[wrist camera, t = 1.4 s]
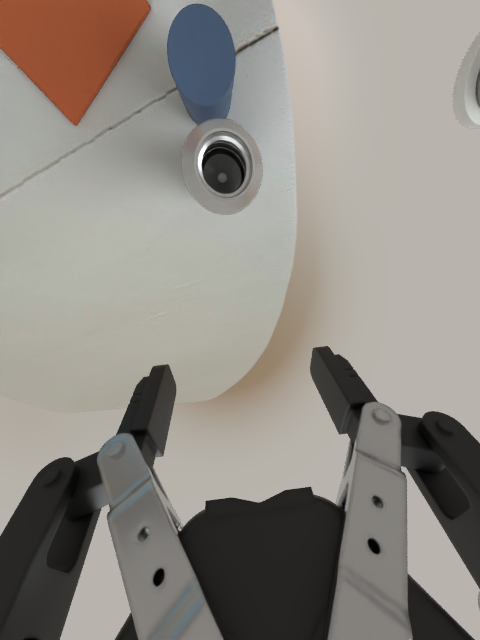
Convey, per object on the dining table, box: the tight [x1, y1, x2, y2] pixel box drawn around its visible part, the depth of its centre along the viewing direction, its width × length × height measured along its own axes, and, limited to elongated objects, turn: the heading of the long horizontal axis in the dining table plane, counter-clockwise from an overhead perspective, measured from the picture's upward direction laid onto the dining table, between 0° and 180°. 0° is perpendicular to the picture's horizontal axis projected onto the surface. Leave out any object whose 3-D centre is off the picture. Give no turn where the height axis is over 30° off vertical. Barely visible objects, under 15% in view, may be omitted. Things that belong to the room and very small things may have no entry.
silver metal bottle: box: [181, 118, 263, 215], centre depth 21 cm, size 6×7×20 cm
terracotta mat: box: [0, 0, 151, 126], centre depth 20 cm, size 14×12×1 cm
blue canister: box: [167, 4, 236, 125], centre depth 21 cm, size 6×6×9 cm
